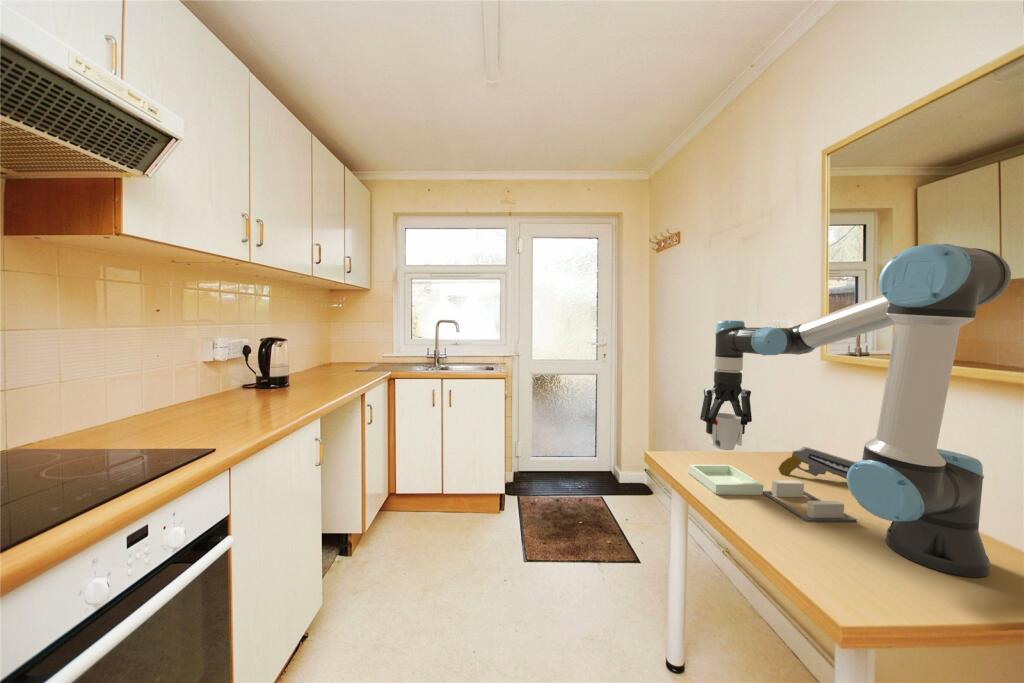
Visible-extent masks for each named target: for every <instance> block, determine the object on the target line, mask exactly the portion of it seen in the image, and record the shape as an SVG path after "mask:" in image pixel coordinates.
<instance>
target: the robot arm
mask: <svg viewBox="0 0 1024 683" xmlns="http://www.w3.org/2000/svg"><path fill="white" fill-rule="evenodd" d="M1011 280H1012V270H1011V268H1010V266H1009V263H1008V262H1007V261H1006V260H1005V259H1004V258H1003V257H1001V255H999V254H997V253H996V252H993V251H991V250H987V249H982V248H977V247H976V248H975V247H974V248H973V247H967V246H966V247H964V246H960V245H959V246H958V245H954V244H950V243H941V244H940V243H934V244H932V243H930V244H928V243H926V244H920V245H915V246H912V247H908V248H906V249H904V250H903V251H901V252H899V253H898V254H896V255H895V256H894V257H892V258H891V259H889V260H888V262H886V264H885V265H884V267H883V268H882V270H881V272H880V273H879V277H878V288H879V291H880V294H878V295H877V296H872V297H871V298H868V299H865V300H862V301H859V302H857V303H854V304H851V305H848V306H846V307H843V308H840V309H837V310H835V311H833V312H829V313H826V314H824V315H821V316H819V317H816V318H814V319H810V320H808V321H805V322H803V323H800V324H797V325H795V326H791V327H768V326H767V327H746V326H745V322H744V320H719V321H718V322H717V324H716V329H715V353H714V354H715V355H714V369H715V370H714V372H713V383H714V384H713V387H712V388H709V389H708V388H704V389H703V394H704V397H703V402H702V407H701V411H700V417H699V420H701V421H703V422H705V423H706V427H705V428H706V429H705V432H706V433H707V436H708V437H707V439H708V440H707V443H708V444H710V445H711V446H713V447H715V440H716V424H714V421H715V419H716V417H717V414H718V413H720V409H721V407H722V405H724V404H725V402H730V404H731V407H732V409H733V412H734V415H736V416H737V417H741V423H740V431H739V435H738V439H737V443H736V445H737V446H740V447H741V446H742V444H743V435H744V434H745V432H746V431H745V430H746V429H745V428H746V426H747V425H748V423H752V422H753V418H752V408H751V394H752V390H750V389H749V390H748V389H745V388H744V389H743V388H742V386H741V385H742V383H743V373H742V371H743V370H744V369H743V368H744V364H743V363H744V354H754V355H761V356H779V355H796V356H797V355H805V354H809V353H811V352H813V351H814V350H815V349H817V348H820V347H823V346H827V345H830V344H834V343H836V342H840V341H843V340H846V339H850V338H854V337H858V336H860V335H863V334H867V333H870V332H874V331H878V330H880V329H884V328H888V327H891V326H895V327H894V333H893V338H892V344H891V350H890V355H889V362H888V366H887V367H888V368H887V372H886V378H885V384H884V389H883V396H882V400H881V407H880V413H879V418H878V425H877V430H876V435H875V436H876V437H875V438H872V439H870V440H868V441H866V442H865V443H864V447H863V451H862V452H863V453H862V458H861V460H859V461H856V462H857V463H855V464H854V465H852V466H851V467H850V469H849V470H848V472H847V479H846V484H847V488H848V490H849V493H850V495H852V496H853V497H854V498H855V500H856V501H857V503H858V505H859V506H860V507H862V508H863V509H864V510H865V511H866V512H868V513H870V514H871V515H873V516H876V517H878V518H879V519H883V520H886V521H891V523H890V526H889V527H888V528H887V530H886V532H885V534H886V535H885V543H886V545H887V546H888V547H889V548H890V549H891V550H892V551H894V552H895V553H896V554H898V555H900V556H902V557H903V558H906V559H908V560H909V561H913V562H914V563H916V564H919V565H922V566H924V567H927V568H930V569H933V570H936V571H939V572H941V573H946V574H950V575H951V574H952V575H955V576H960V577H967V578H984V577H988V575H989V574H990V570H991V569H990V566H991V561H990V558H989V557H988V555H987V553H986V549H985V547H984V543H983V541H982V538H981V534H980V531H979V529H980V528H979V527H980V526H979V525H980V518H981V517H980V516H981V507H982V506H981V504H982V494H983V492H982V491H983V480H984V479H985V475H984V473H983V472H984V471H983V468H984V467H983V464H982V462H981V461H980V460H979V459H977V458H976V457H973V456H970V455H967V454H963V453H958V452H955V451H951V450H946V449H941V448H938V443H939V438H940V432H941V426H942V424H943V417H944V413H945V412H944V411H945V407H946V402H947V397H948V390H949V387H950V381H951V377H952V371H953V366H954V361H955V356H956V350H957V346H958V341H959V335H960V330H961V328H962V327H963V326H966V325H967V324H969V323H971V322H973V321H974V320H975V318H976V312H977V309H978V307H981V306H984V305H986V304H988V303H991V302H993V301H994V300H996V299H997V298H999V297H1000V296H1001V295H1002V294H1003V293H1004V292H1005V291H1006V290H1007V288H1008V287H1009V285H1010V283H1011ZM714 394H715V397H714V398H713V396H714ZM739 396H741V397H740V398H739ZM712 401H713V403H712Z"/></svg>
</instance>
